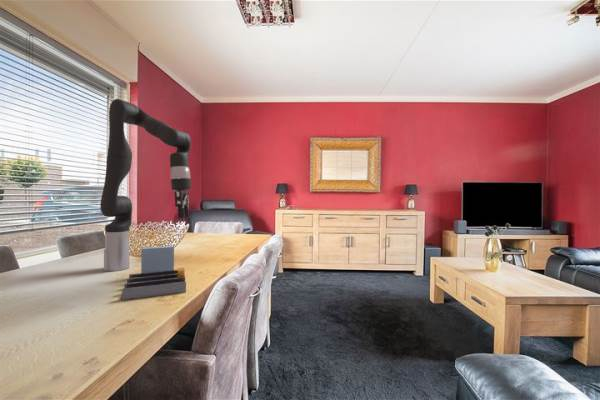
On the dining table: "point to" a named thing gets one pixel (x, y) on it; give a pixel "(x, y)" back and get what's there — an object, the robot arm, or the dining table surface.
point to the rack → (154, 284)
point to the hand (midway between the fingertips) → (183, 217)
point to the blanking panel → (157, 259)
